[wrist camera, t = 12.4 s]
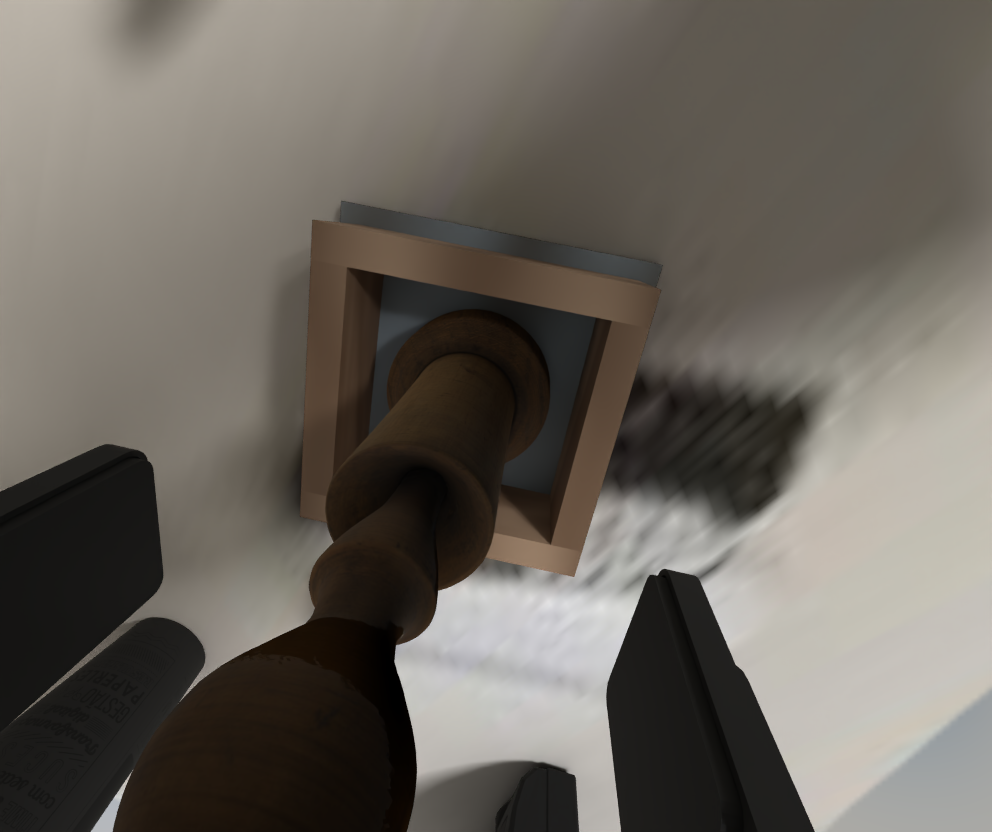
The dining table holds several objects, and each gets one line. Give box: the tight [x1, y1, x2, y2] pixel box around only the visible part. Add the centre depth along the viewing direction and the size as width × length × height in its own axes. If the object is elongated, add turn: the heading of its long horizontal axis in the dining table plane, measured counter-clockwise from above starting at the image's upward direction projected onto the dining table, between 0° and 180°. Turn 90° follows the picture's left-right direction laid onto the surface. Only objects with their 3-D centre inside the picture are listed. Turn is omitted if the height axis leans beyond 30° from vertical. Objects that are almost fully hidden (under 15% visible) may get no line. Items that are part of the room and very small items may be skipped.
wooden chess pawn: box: [113, 309, 550, 832], centre depth 12 cm, size 7×6×18 cm
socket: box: [300, 201, 663, 577], centre depth 19 cm, size 13×13×5 cm
